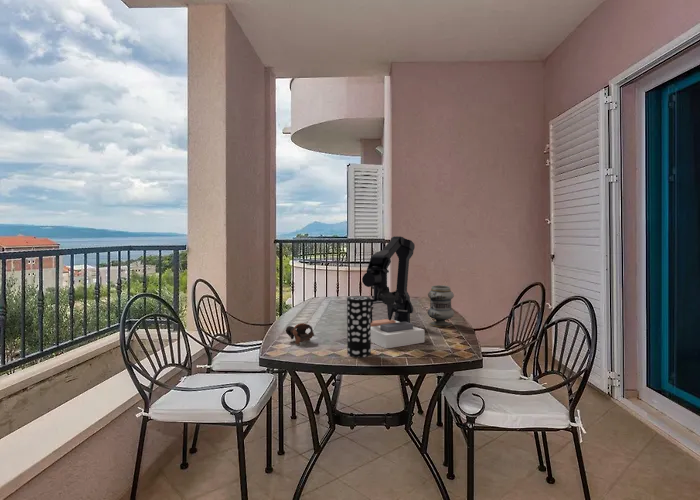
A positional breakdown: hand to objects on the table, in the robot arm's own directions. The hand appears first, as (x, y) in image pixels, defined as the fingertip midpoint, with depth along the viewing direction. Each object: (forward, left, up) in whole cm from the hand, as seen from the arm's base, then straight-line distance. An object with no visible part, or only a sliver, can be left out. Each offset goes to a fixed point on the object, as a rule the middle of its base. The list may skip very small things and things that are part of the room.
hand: (380, 321), depth 179 cm
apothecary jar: (-35, -3, -6) cm, 36 cm away
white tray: (0, +6, -6) cm, 8 cm away
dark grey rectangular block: (0, +12, -3) cm, 12 cm away
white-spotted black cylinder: (+21, +19, -6) cm, 29 cm away
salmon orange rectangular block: (0, 0, -4) cm, 4 cm away
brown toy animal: (+33, -7, -6) cm, 35 cm away
